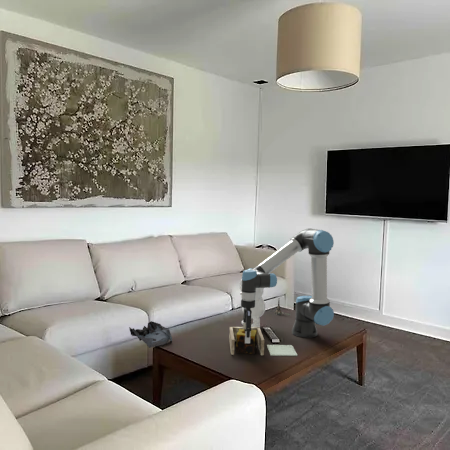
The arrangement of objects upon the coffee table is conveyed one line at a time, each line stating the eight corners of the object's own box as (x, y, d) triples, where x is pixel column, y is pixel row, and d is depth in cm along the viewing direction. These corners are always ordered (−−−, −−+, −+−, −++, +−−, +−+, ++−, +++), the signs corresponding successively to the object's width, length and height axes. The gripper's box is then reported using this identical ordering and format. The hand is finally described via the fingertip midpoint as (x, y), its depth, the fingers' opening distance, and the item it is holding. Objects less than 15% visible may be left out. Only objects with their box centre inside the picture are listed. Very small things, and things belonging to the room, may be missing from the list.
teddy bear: (250, 333, 255) (252, 275, 252) (232, 325, 269) (234, 270, 266) (273, 327, 266) (275, 272, 263) (255, 320, 280) (256, 268, 277)
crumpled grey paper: (145, 351, 222) (145, 334, 221) (127, 340, 237) (127, 324, 237) (174, 344, 233) (174, 328, 232) (156, 334, 249) (156, 318, 248)
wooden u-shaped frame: (258, 340, 242) (259, 327, 241) (263, 355, 221) (264, 340, 220) (229, 340, 241) (229, 326, 240) (231, 354, 220) (231, 339, 219)
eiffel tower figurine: (291, 315, 297) (292, 296, 296) (285, 318, 289) (286, 299, 288) (272, 311, 305) (273, 292, 304) (265, 314, 297) (266, 295, 296)
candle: (254, 355, 221) (255, 336, 220) (235, 353, 223) (236, 334, 222) (256, 348, 231) (257, 330, 230) (238, 346, 233) (239, 328, 232)
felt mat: (292, 346, 235) (292, 345, 235) (297, 356, 221) (297, 354, 221) (266, 345, 234) (266, 344, 234) (270, 355, 220) (270, 354, 220)
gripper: (239, 293, 237) (237, 330, 238) (243, 305, 212) (241, 346, 214) (252, 294, 237) (250, 331, 239) (258, 305, 212) (255, 347, 214)
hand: (246, 338), depth 226 cm, fingers open, 13 cm apart
